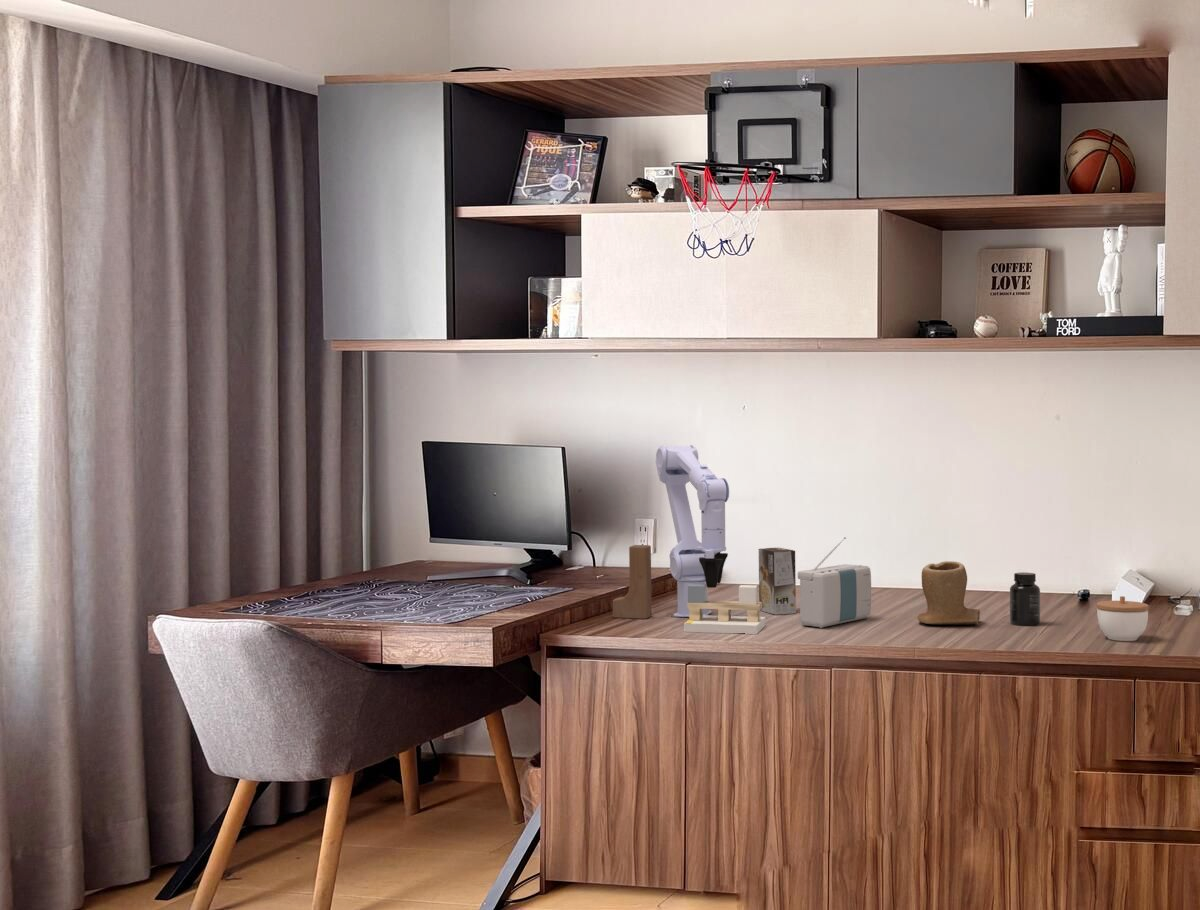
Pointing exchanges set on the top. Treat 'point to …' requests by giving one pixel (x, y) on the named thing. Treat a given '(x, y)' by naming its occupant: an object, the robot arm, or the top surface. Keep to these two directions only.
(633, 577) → the wooden block
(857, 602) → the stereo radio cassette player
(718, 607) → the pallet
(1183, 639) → the top surface
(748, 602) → the greyish beige cube
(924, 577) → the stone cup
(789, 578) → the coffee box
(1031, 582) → the supplement bottle
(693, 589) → the pale grey square box
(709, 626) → the dock
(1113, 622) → the lidded jar
